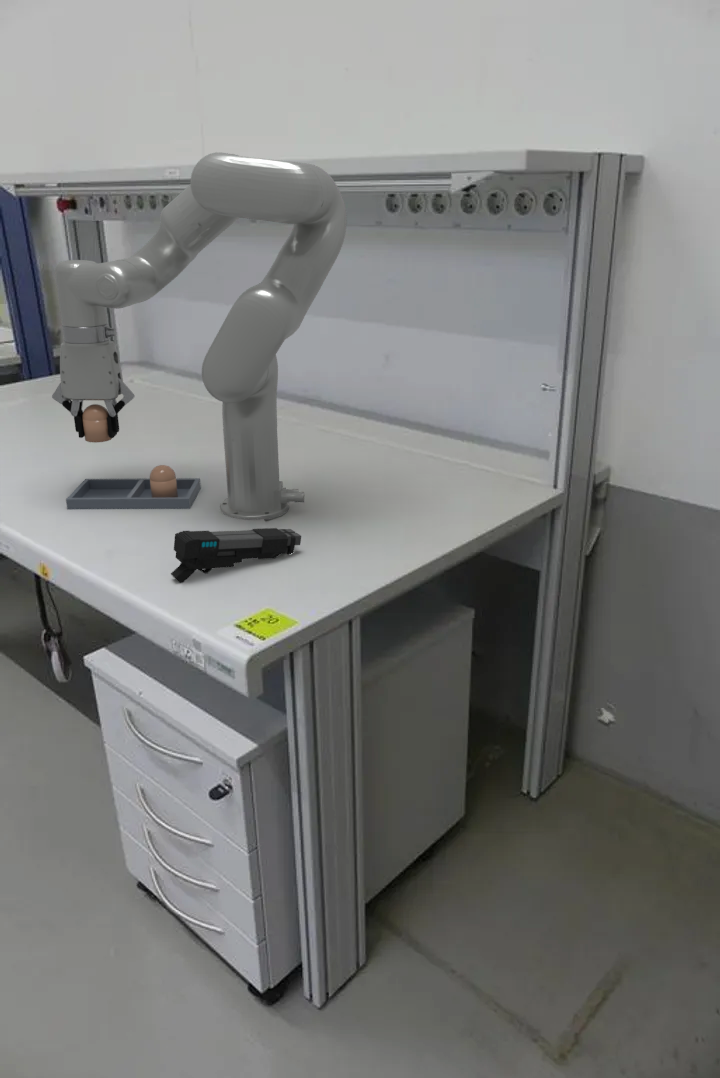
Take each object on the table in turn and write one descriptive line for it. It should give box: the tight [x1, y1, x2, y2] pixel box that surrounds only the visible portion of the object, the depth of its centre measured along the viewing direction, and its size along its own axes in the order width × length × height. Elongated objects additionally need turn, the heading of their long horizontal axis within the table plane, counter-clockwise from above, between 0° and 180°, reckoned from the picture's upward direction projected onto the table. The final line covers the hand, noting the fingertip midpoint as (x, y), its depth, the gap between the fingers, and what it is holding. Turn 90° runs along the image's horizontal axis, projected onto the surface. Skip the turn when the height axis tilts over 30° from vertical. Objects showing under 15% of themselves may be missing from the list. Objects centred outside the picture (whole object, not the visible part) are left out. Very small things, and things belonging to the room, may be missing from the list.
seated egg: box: [149, 464, 178, 498], centre depth 152 cm, size 5×5×6 cm
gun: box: [170, 527, 302, 584], centre depth 126 cm, size 4×20×10 cm, turn 124°
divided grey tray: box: [65, 477, 202, 510], centre depth 153 cm, size 22×12×2 cm, turn 90°
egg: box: [82, 403, 113, 443], centre depth 147 cm, size 5×5×6 cm
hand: (98, 434), depth 148 cm, fingers closed on egg, 4 cm apart
